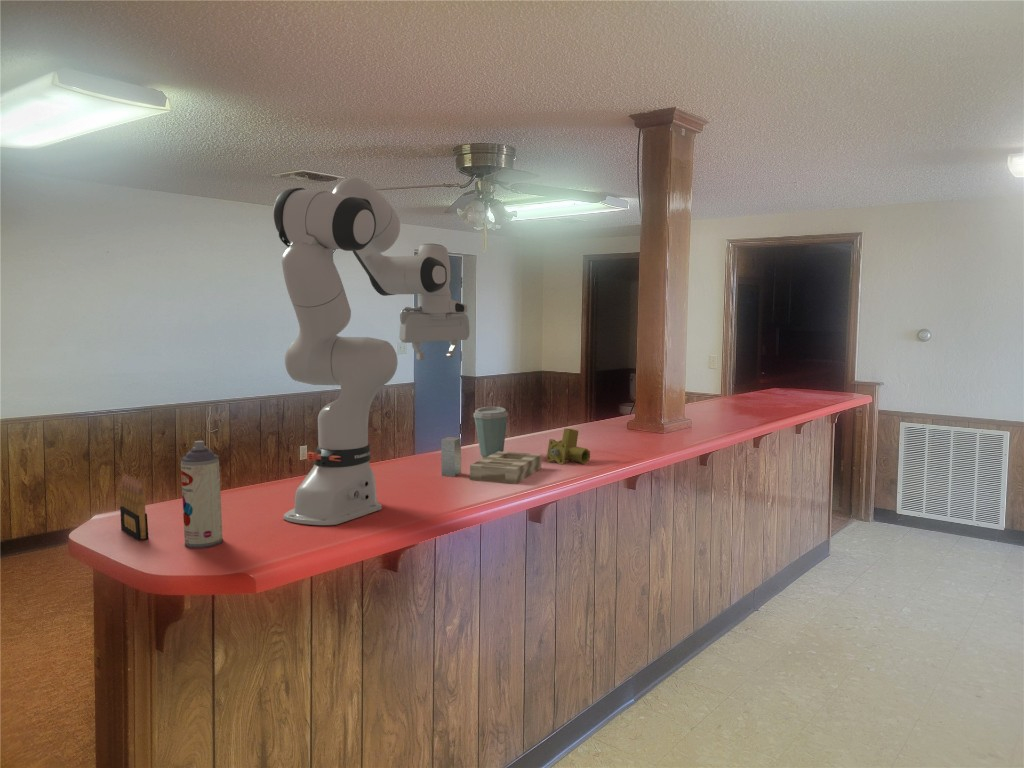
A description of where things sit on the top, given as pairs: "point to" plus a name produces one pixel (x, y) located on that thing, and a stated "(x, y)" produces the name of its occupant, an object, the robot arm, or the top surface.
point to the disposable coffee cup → (490, 429)
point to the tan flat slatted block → (505, 467)
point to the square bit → (451, 456)
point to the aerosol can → (201, 497)
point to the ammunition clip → (133, 508)
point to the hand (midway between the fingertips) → (435, 358)
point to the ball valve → (567, 449)
